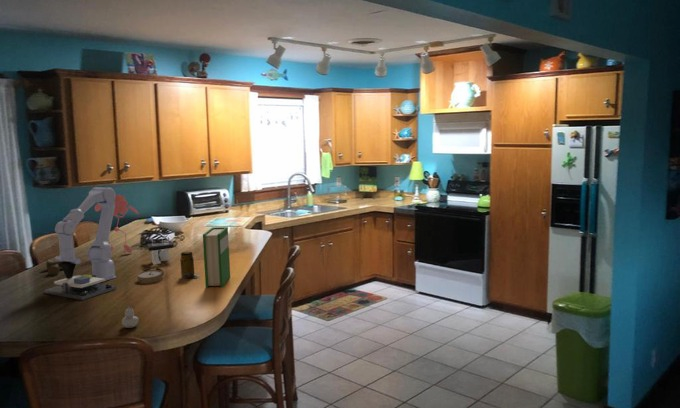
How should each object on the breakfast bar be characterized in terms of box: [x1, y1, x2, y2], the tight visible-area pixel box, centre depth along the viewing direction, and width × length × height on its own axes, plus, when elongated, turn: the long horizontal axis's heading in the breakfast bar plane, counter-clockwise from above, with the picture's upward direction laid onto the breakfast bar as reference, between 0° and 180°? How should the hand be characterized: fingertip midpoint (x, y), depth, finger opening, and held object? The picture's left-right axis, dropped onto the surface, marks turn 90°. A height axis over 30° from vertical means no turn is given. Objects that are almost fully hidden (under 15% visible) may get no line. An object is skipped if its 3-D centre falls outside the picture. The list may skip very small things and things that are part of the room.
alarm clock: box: [136, 267, 165, 285], centre depth 253 cm, size 11×5×15 cm
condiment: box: [178, 251, 202, 280], centre depth 256 cm, size 7×8×12 cm
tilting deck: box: [53, 273, 106, 288], centre depth 236 cm, size 18×12×3 cm, turn 62°
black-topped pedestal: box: [146, 237, 175, 266], centre depth 287 cm, size 28×26×13 cm
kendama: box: [46, 258, 62, 276], centre depth 274 cm, size 6×10×20 cm
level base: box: [44, 274, 117, 301], centre depth 236 cm, size 25×17×6 cm
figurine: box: [94, 193, 140, 256], centre depth 311 cm, size 15×26×35 cm, turn 89°
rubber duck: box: [121, 305, 139, 329], centre depth 190 cm, size 5×7×8 cm
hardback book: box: [202, 226, 231, 289], centre depth 245 cm, size 18×7×24 cm, turn 0°
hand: (69, 278), depth 239 cm, fingers closed
